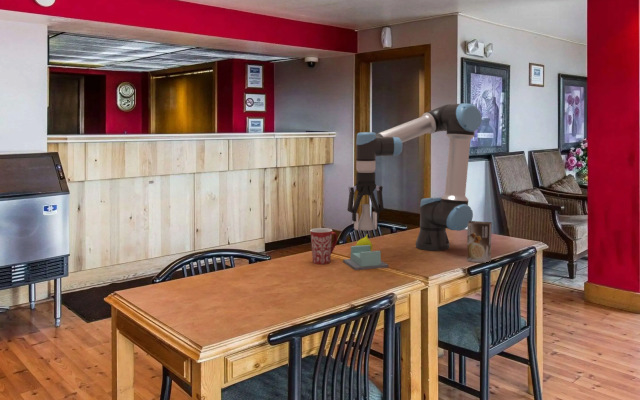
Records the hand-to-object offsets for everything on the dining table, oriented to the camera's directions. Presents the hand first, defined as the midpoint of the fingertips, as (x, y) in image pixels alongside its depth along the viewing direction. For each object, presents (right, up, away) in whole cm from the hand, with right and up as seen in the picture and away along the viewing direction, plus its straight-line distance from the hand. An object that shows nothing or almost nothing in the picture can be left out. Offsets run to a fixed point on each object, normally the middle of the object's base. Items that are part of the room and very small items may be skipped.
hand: (365, 228), depth 224 cm
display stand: (0, -15, +2) cm, 15 cm away
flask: (0, -1, 0) cm, 0 cm away
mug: (-16, -14, +7) cm, 23 cm away
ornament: (+1, -12, +20) cm, 23 cm away
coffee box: (+47, -14, +7) cm, 50 cm away
